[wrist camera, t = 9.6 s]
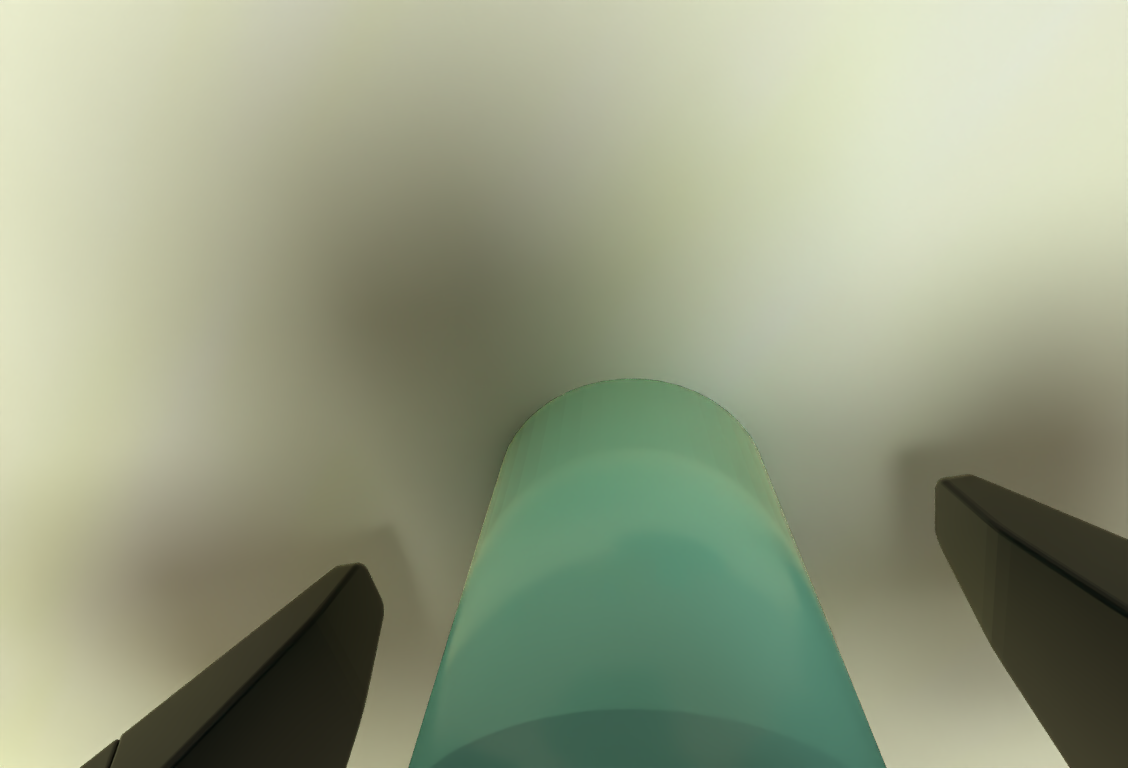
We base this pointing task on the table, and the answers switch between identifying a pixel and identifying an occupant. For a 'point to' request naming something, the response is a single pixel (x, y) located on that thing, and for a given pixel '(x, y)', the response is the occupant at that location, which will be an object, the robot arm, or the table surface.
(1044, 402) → the table surface
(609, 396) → the bead
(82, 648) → the table surface
